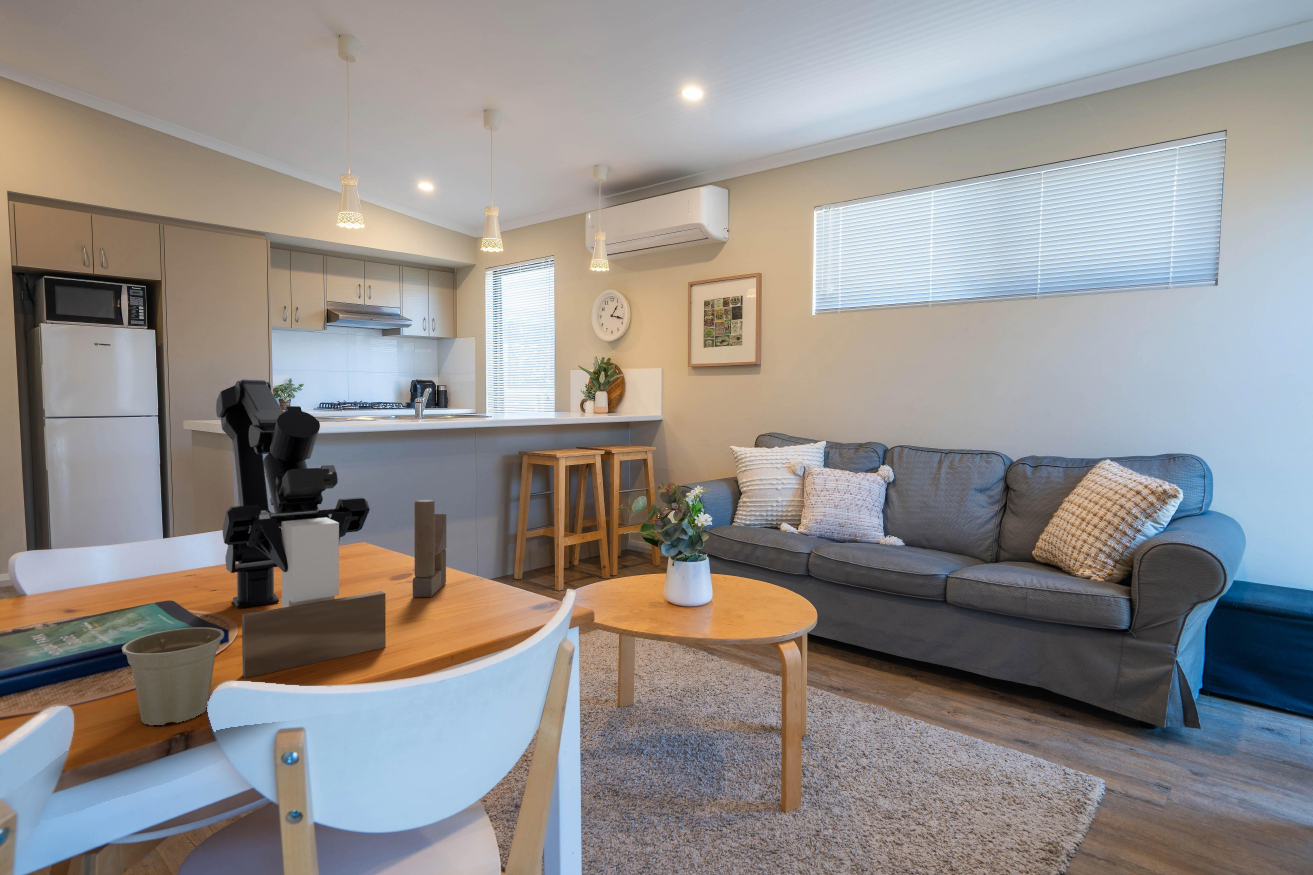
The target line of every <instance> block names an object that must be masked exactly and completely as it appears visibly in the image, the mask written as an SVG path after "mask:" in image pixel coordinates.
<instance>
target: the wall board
mask: <svg viewBox="0 0 1313 875" xmlns="http://www.w3.org/2000/svg"><path fill="white" fill-rule="evenodd" d="M386 605H387V604H386V593H385V592H384V591H382V590H381V591H375V592H369V593H363V594H355V595H351V596H350V595H349V596H346V597H339V598H338V597H337V598H335V599H332V600H326V601H320V602H314V603H308V604H302V605H296V606H290V607H284V608H282V607H278V608H273V609H268V610H260V611H253V612H248V613H242V614H241V627H242V628H241V630H242V631H241V635H242V636H241V637H242V642H241V644H242V646H241V647H242V650H241V651H242V654H241V656H242V676H243V677H244V679H247V678H253V677H257V676H261V675H266V674H270V673H275V672H279V671H280V672H281V671H283V670H288V669H293V668H297V667H301V666H306V665H310V664H311V665H312V664H315V663H320V662H325V661H328V660H329V661H330V660H332V659H333V660H334V659H338V658H342V657H348V656H351V655H355V654H360V653H364V652H370V651H375V650H378V649H383V648H386V645H387V644H386V643H387V642H386V640H387V639H386V628H387V627H386V626H387V625H386V621H387V620H386V618H387V617H386V614H387V613H386V611H387V610H386V609H387V608H386Z"/></svg>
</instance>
